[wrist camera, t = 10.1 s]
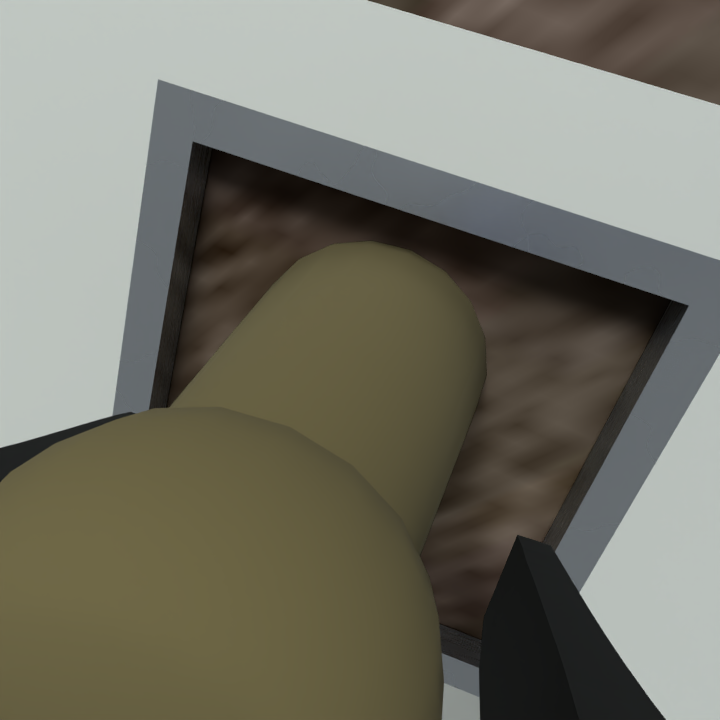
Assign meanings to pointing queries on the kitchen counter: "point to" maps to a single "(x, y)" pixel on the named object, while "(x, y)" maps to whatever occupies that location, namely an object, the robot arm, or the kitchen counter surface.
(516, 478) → the kitchen counter surface
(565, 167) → the white picture frame
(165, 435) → the cork
